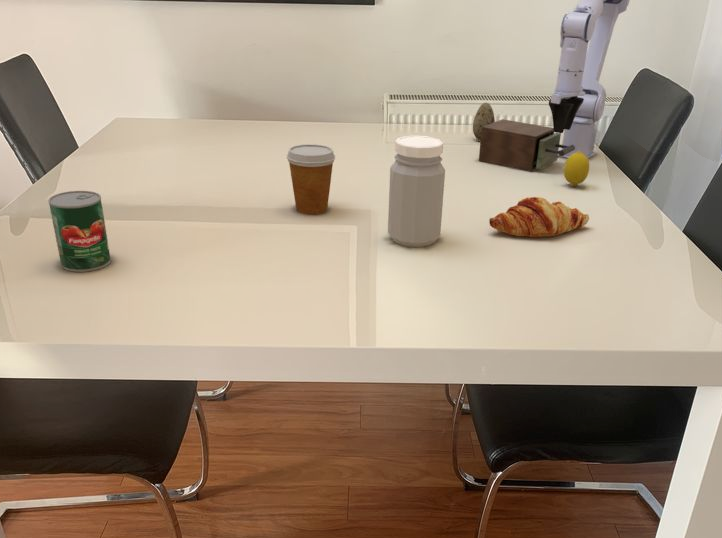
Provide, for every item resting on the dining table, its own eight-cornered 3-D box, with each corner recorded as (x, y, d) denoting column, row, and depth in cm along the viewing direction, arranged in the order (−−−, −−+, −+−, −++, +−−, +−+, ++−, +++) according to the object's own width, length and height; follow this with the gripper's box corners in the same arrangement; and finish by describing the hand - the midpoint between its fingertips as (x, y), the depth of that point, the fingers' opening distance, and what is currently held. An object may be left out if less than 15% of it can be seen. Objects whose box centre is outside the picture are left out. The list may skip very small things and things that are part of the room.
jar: (403, 251, 135) (408, 150, 125) (378, 233, 142) (381, 136, 133) (449, 244, 139) (458, 145, 130) (423, 227, 146) (429, 132, 137)
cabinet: (549, 162, 190) (554, 128, 186) (531, 171, 182) (536, 136, 178) (498, 152, 197) (502, 119, 193) (478, 161, 189) (481, 126, 184)
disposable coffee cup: (343, 206, 155) (343, 147, 149) (320, 220, 147) (320, 158, 141) (303, 199, 158) (302, 141, 152) (279, 212, 150) (276, 151, 144)
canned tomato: (82, 275, 121) (70, 209, 115) (50, 264, 124) (37, 199, 119) (121, 260, 127) (111, 196, 121) (90, 250, 130) (78, 187, 125)
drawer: (574, 164, 186) (579, 136, 183) (558, 173, 179) (563, 144, 176) (508, 151, 195) (511, 124, 191) (490, 159, 187) (493, 131, 184)
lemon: (584, 183, 175) (590, 148, 171) (587, 190, 171) (593, 155, 166) (560, 182, 176) (565, 147, 171) (562, 189, 171) (568, 153, 167)
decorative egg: (472, 137, 210) (475, 99, 205) (493, 138, 209) (497, 101, 204) (471, 142, 205) (474, 104, 200) (493, 144, 204) (497, 105, 199)
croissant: (575, 238, 154) (572, 198, 153) (604, 231, 144) (601, 189, 143) (481, 244, 147) (477, 203, 147) (504, 237, 138) (500, 193, 137)
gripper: (575, 76, 165) (566, 139, 172) (598, 68, 176) (588, 128, 183) (546, 72, 169) (537, 134, 176) (570, 64, 179) (561, 123, 186)
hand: (561, 130), depth 180 cm, fingers open, 4 cm apart
